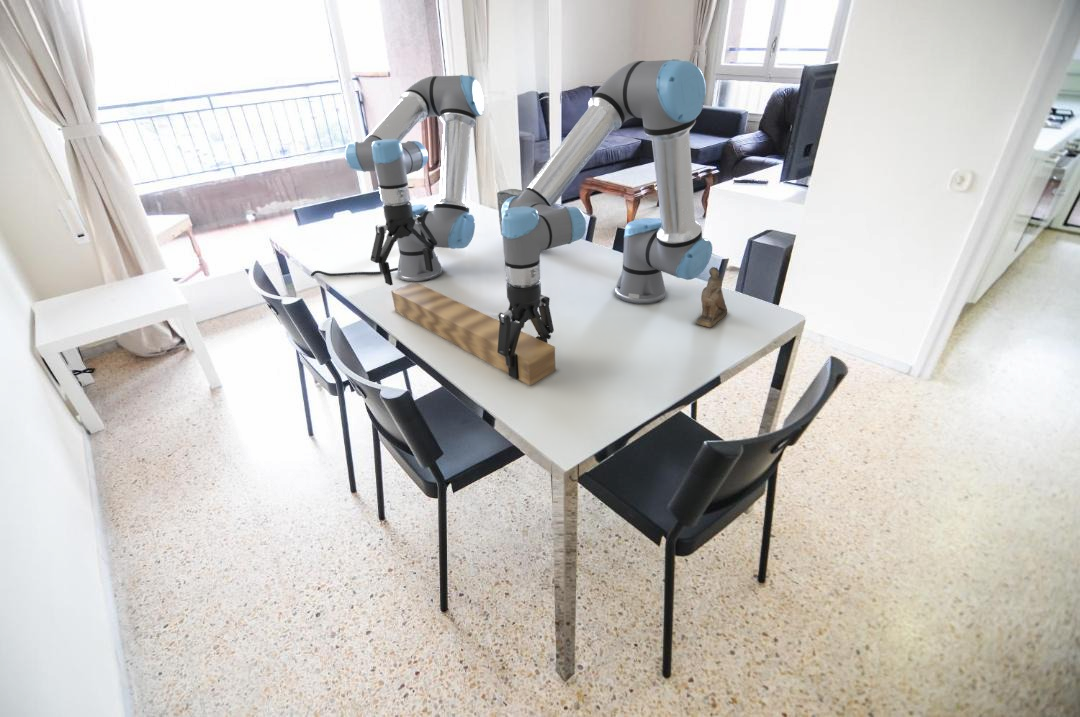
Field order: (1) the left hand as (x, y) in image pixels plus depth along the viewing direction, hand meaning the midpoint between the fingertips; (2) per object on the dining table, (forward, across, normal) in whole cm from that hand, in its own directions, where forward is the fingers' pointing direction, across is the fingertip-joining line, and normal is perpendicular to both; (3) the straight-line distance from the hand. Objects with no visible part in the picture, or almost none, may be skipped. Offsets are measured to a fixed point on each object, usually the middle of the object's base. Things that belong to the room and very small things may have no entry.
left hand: (409, 277), depth 144 cm
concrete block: (+11, +63, +17) cm, 66 cm away
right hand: (+11, 0, -49) cm, 50 cm away
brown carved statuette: (+11, +53, -68) cm, 87 cm away
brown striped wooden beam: (+11, 0, -24) cm, 27 cm away
